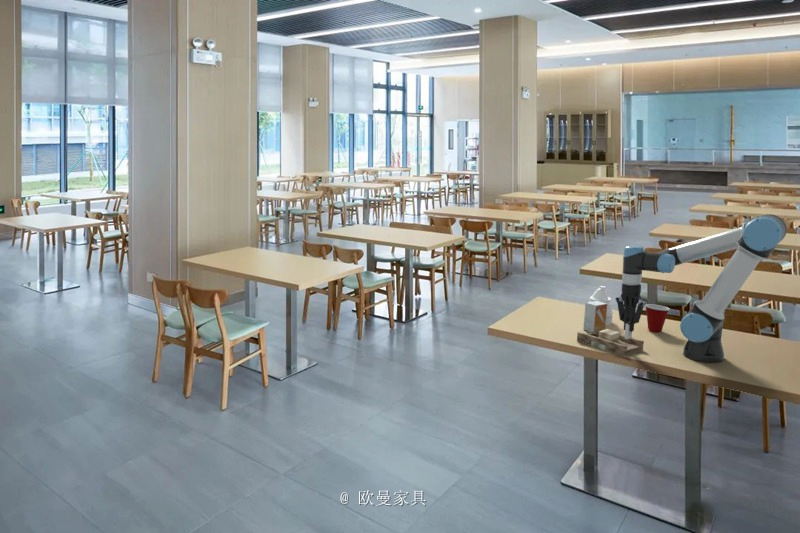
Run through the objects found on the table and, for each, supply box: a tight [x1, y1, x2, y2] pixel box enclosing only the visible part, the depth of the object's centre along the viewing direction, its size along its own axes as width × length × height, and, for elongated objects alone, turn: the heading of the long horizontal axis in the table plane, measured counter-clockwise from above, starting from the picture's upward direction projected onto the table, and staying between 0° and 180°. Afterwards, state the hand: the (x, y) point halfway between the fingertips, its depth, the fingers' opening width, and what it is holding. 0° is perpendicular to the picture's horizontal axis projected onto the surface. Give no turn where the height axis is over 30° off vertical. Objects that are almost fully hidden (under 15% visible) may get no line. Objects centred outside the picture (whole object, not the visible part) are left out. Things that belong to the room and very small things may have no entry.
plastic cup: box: [644, 303, 671, 334], centre depth 297 cm, size 11×11×12 cm
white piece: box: [588, 285, 614, 326], centre depth 310 cm, size 13×13×18 cm
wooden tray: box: [576, 328, 645, 357], centre depth 275 cm, size 24×13×4 cm, turn 37°
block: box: [599, 328, 620, 342], centre depth 275 cm, size 6×6×4 cm
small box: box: [583, 301, 607, 333], centre depth 296 cm, size 8×6×13 cm
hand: (628, 338), depth 267 cm, fingers closed
